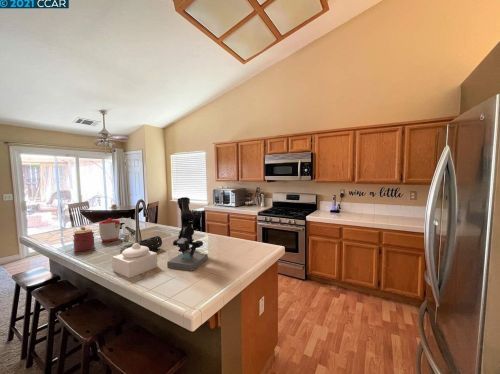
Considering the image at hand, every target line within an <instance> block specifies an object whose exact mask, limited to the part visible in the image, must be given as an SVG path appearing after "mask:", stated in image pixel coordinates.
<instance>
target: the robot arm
mask: <svg viewBox="0 0 500 374" xmlns="http://www.w3.org/2000/svg"><path fill="white" fill-rule="evenodd" d="M176 200H177V205H178V208H179V209H180V228H181V229H180V230H179V233H178V235H177V236H178V237H177V239H175V240H173V241H172V246H175V247H178V248H179V249H178V251H179V252H181V253H183V255H184V251H186V250H191V257H193V254H194V253H196V249H198V248H201V247H202V246H203V245H204V242H203V240H196V241H194V238H193V236H194V233H195V229H194V227H193V225H195V223H196V220H195V215H194V213H193V211H192V210H190V206H189V205H190V204H191V203H190V201H191V200H190V198H189V197H188V196H185V197H180V198H177V199H176Z"/></svg>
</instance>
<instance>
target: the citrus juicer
mask: <svg viewBox="0 0 500 374" xmlns="http://www.w3.org/2000/svg"><path fill="white" fill-rule="evenodd" d="M120 221H121V220H120V219H112V218H111V217H108V218H107V219H105V220H100V221H99V222H98V227H99V236H100V240H101V241H102V242H104V243H105V242H107V243H108V242H109V243H110V241H112V242H114V241H117V240H119V237H120V232H121V229H120V228H122V224H121V222H120Z"/></svg>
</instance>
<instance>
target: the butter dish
mask: <svg viewBox="0 0 500 374" xmlns="http://www.w3.org/2000/svg"><path fill="white" fill-rule="evenodd" d="M134 243H135V244H133V243H132V244H133V245H132V247H130V248H127V249H125V250H124V251H123V252H122V254H120V253H119V254H116V255H114V256H112V271H113V272H114V273H117V274H119V275H121V276H123V277H125V278H128V279H131V278H133V277H136V276H138V275H141V274H143V273H146V272H148V271H151V270H153V269H156V268H158V266H159V265H158V253H157V252H154V251H149V248H148V247H146V246H140V244H138V243H136V242H134Z"/></svg>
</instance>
